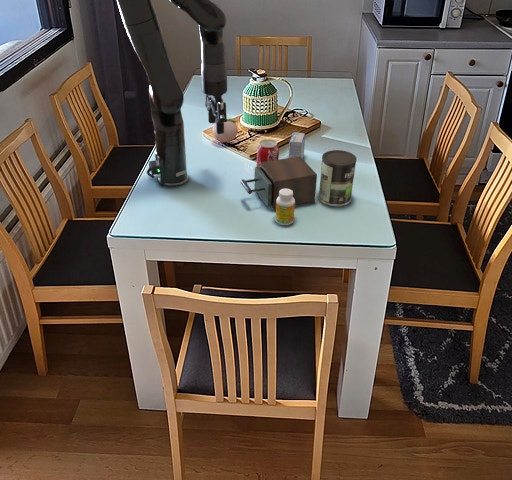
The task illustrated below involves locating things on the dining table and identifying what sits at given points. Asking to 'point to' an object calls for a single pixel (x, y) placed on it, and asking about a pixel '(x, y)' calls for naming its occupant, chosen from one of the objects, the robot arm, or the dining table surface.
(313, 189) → the cabinet
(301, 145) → the medicine box
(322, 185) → the coffee can
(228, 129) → the decorative fruit
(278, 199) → the supplement bottle
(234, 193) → the dining table surface
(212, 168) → the dining table surface
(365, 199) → the dining table surface
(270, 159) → the soda can
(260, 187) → the drawer
